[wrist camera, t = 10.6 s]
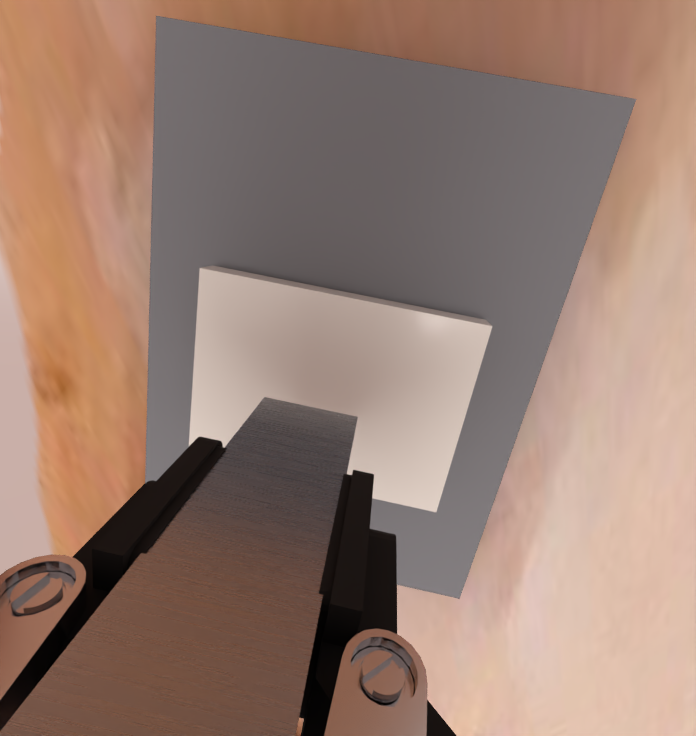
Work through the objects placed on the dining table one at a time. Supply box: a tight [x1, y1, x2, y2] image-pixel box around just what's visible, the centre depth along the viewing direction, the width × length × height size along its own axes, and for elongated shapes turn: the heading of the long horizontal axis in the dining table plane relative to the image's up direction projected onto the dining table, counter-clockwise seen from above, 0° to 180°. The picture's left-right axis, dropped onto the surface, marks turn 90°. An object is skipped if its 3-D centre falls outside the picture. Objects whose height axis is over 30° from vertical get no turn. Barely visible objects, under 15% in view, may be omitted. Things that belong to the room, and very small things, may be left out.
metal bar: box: [0, 397, 358, 736], centre depth 8 cm, size 3×3×12 cm
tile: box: [189, 266, 492, 512], centre depth 19 cm, size 2×12×9 cm
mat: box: [145, 16, 636, 599], centre depth 20 cm, size 24×18×1 cm
